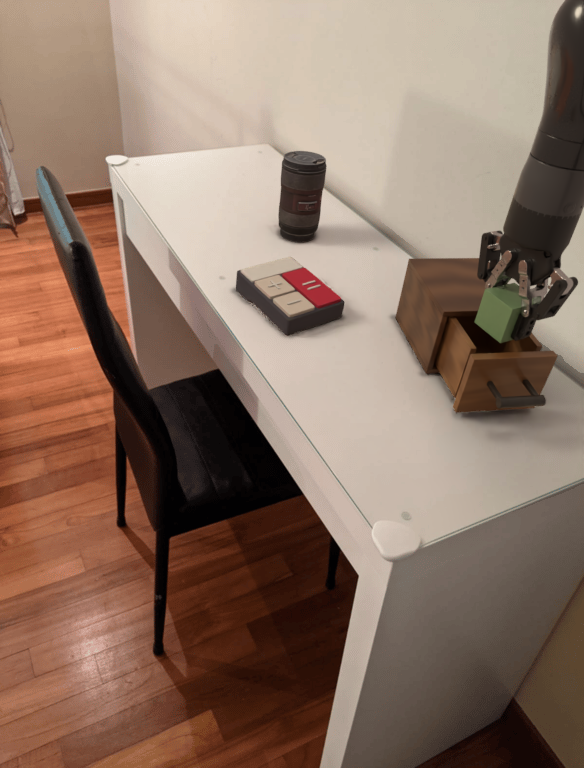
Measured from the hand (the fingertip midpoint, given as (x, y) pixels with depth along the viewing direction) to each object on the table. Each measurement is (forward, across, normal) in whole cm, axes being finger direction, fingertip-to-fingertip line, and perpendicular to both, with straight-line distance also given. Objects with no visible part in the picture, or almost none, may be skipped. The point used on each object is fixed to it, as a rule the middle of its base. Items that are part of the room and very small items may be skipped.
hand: (502, 325), depth 79 cm
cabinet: (+11, +11, -3) cm, 16 cm away
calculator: (+11, +29, +15) cm, 35 cm away
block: (0, 0, 0) cm, 0 cm away
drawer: (+10, 0, 0) cm, 10 cm away
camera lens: (+11, +51, +2) cm, 52 cm away
